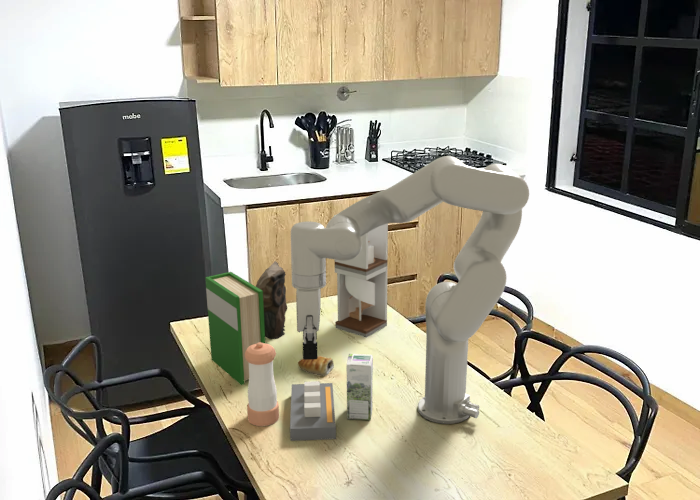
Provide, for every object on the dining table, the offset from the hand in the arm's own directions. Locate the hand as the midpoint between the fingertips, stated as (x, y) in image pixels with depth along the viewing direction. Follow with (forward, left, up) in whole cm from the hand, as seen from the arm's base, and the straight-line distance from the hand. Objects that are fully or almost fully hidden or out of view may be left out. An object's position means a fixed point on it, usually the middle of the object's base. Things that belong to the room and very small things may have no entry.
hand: (310, 349), depth 162 cm
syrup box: (-8, -8, -17) cm, 21 cm away
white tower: (+22, -47, -17) cm, 55 cm away
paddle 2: (-4, +4, -14) cm, 15 cm away
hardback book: (+31, -6, -18) cm, 36 cm away
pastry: (+14, -18, -18) cm, 29 cm away
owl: (+43, -28, -17) cm, 54 cm away
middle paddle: (0, 0, -14) cm, 14 cm away
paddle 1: (+3, -4, -14) cm, 15 cm away
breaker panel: (0, 0, -17) cm, 17 cm away
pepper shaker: (+8, +8, -17) cm, 21 cm away
